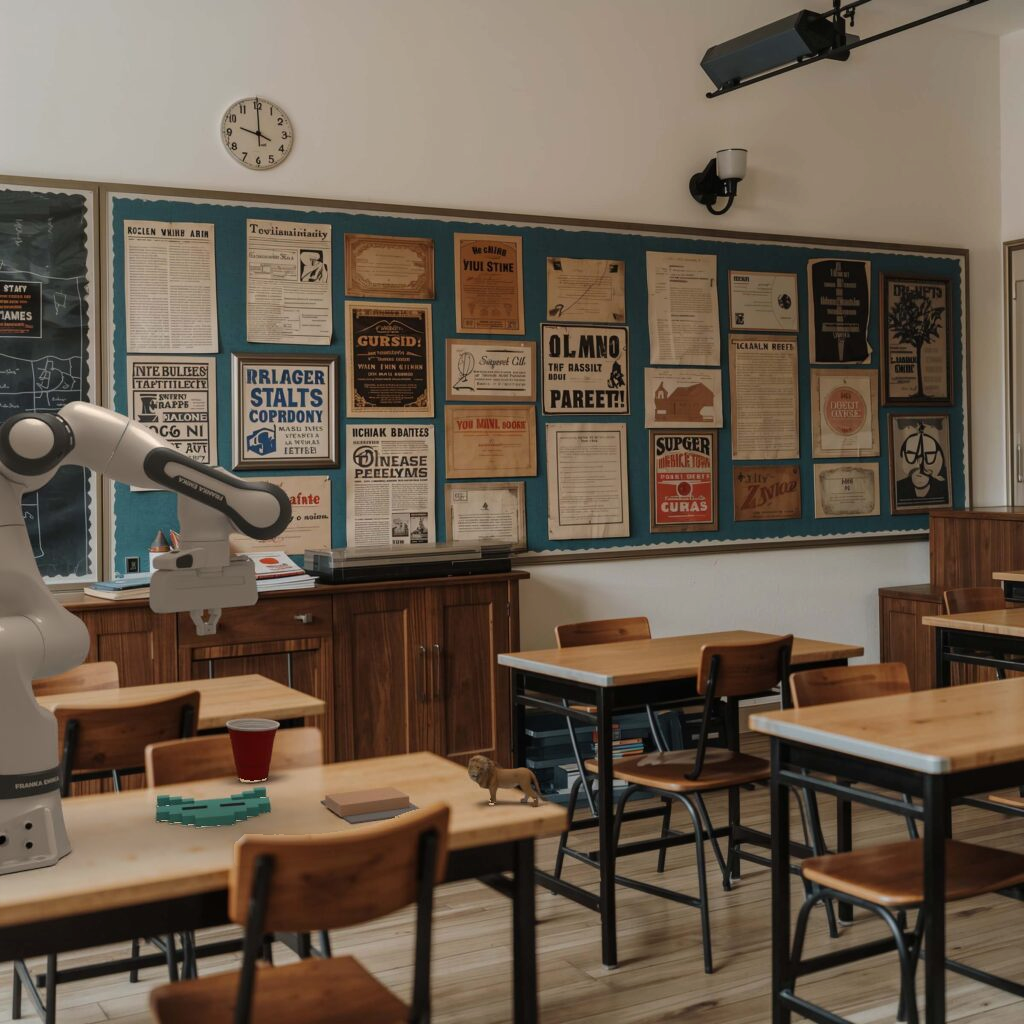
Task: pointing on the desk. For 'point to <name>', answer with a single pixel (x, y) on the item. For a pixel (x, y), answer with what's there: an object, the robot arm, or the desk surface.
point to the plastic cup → (252, 746)
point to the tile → (366, 801)
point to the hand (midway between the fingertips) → (206, 634)
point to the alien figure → (213, 808)
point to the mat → (376, 814)
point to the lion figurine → (502, 778)
